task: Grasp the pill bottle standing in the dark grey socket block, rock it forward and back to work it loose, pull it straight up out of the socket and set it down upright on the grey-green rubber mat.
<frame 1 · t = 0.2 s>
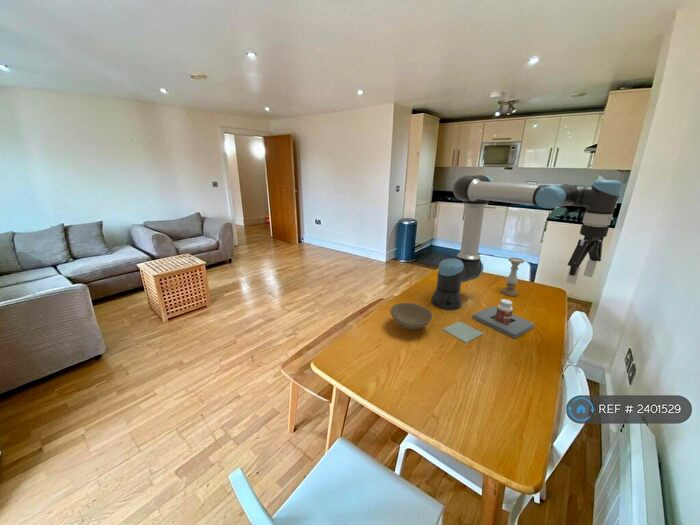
hand: (579, 279, 107), 27 cm above the table, fingers open, 13 cm apart
candle holder: (509, 293, 160), on the table
mat: (462, 331, 122), on the table
bowl: (409, 327, 125), on the table
pill bottle: (502, 323, 129), resting in socket block
socket block: (502, 322, 129), on the table
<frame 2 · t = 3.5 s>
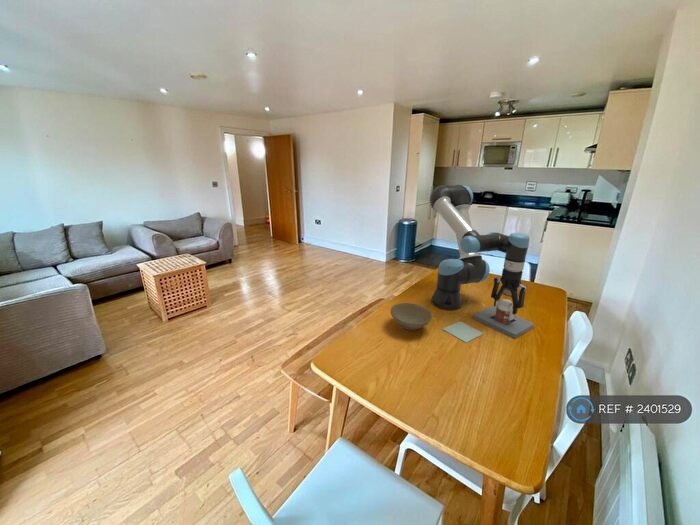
hand: (503, 316, 128), 3 cm above the table, fingers closed on pill bottle, 6 cm apart
pill bottle: (502, 323, 129), resting in socket block, touching gripper
everything else where it was.
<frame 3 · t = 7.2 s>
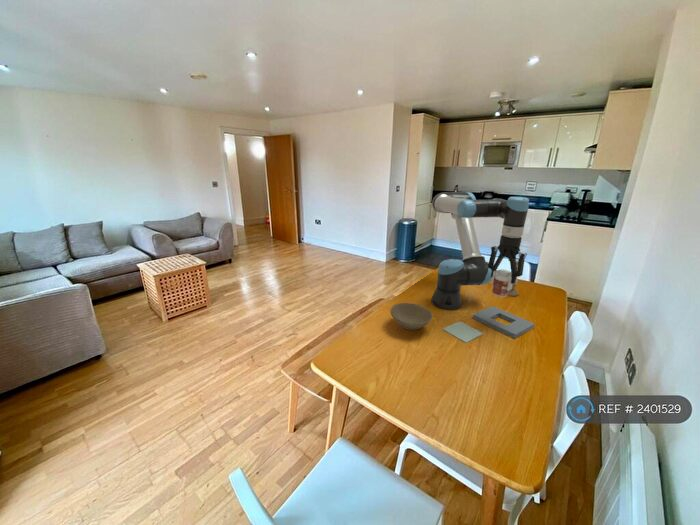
hand: (501, 286, 122), 19 cm above the table, fingers closed on pill bottle, 6 cm apart
pill bottle: (499, 294, 123), point 15 cm above the table, touching gripper
everything else where it was.
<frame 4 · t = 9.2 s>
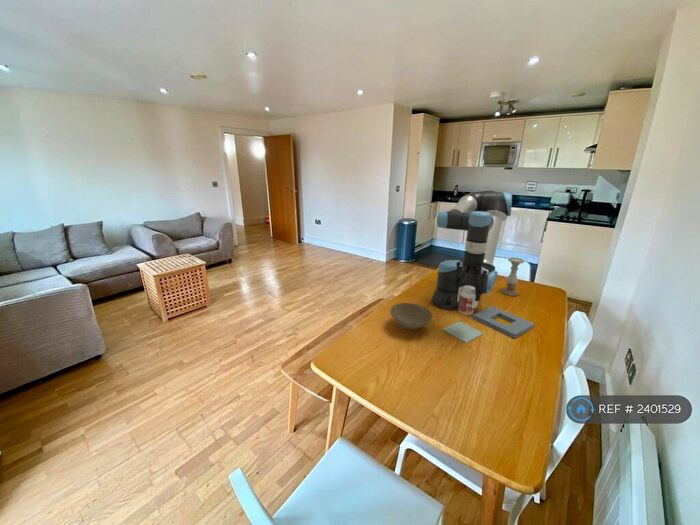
hand: (466, 303, 117), 14 cm above the table, fingers closed on pill bottle, 6 cm apart
pill bottle: (465, 311, 119), point 10 cm above the table, touching gripper
everything else where it was.
when the fingers open (5 cm above the table, at t = 11.0 s): pill bottle drops 1 cm, resting on mat.
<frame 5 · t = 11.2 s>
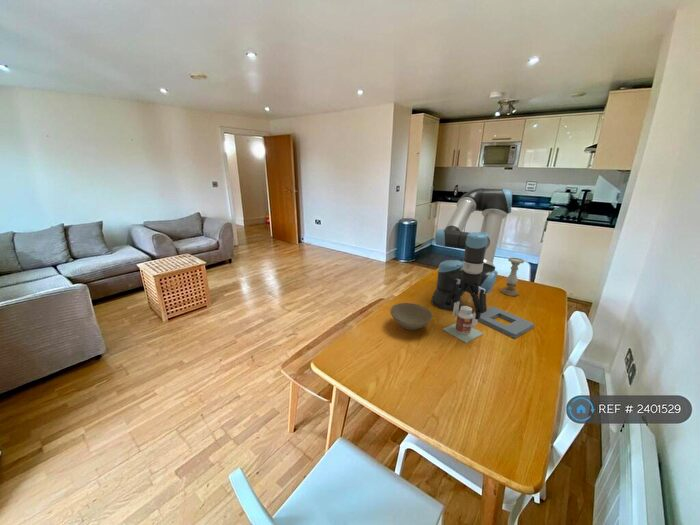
hand: (464, 320, 120), 6 cm above the table, fingers open, 9 cm apart
pill bottle: (462, 331, 122), resting on mat
everything else where it was.
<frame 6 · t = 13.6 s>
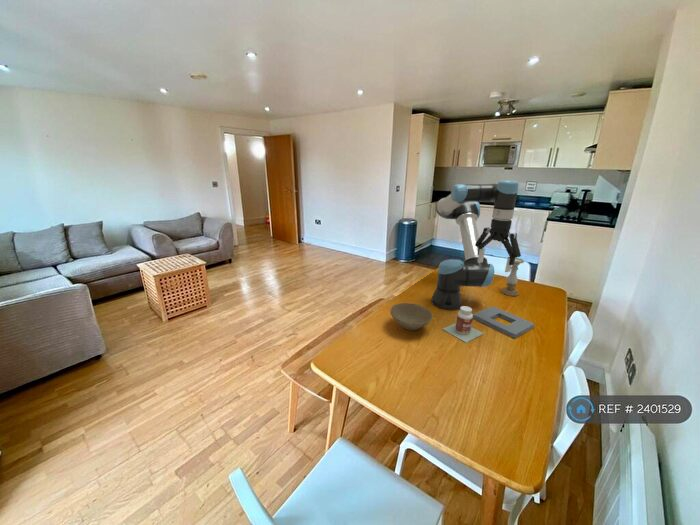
hand: (493, 266, 123), 27 cm above the table, fingers open, 13 cm apart
nothing on the table moved.
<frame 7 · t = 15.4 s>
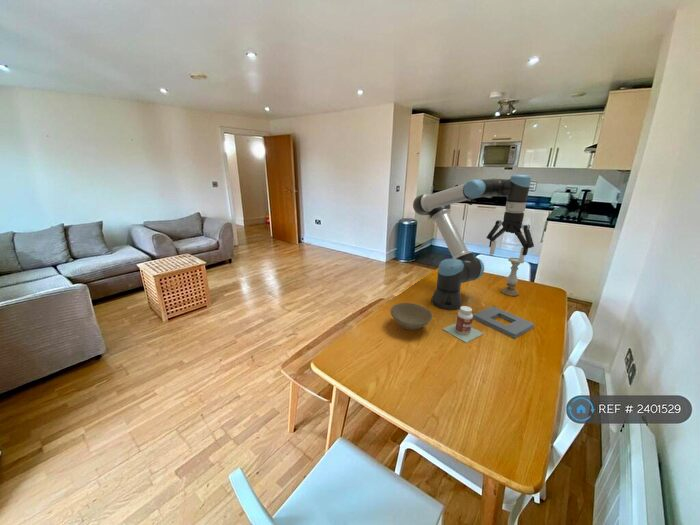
hand: (505, 257, 128), 29 cm above the table, fingers open, 13 cm apart
nothing on the table moved.
at the end: pill bottle inside the target area on the mat (0.1 cm from its centre), point 0.2 cm above the mat's base; pill bottle tilted 0°; the gripper is holding nothing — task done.
